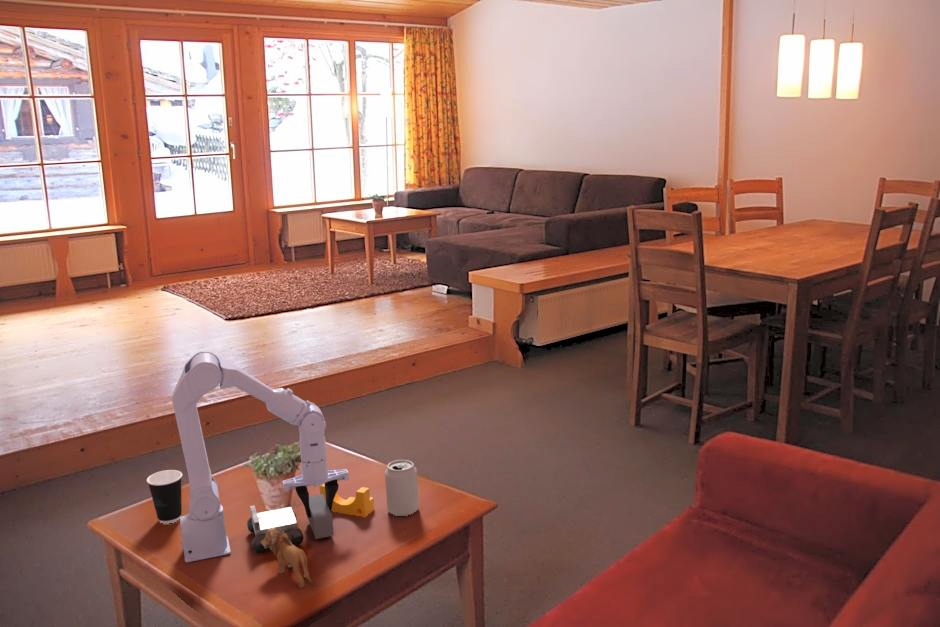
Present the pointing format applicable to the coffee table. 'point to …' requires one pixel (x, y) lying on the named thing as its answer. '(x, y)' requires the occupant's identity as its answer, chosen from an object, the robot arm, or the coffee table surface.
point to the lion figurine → (287, 553)
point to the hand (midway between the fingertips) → (318, 513)
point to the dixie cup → (166, 495)
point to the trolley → (270, 519)
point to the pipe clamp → (352, 503)
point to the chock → (320, 517)
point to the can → (401, 488)
